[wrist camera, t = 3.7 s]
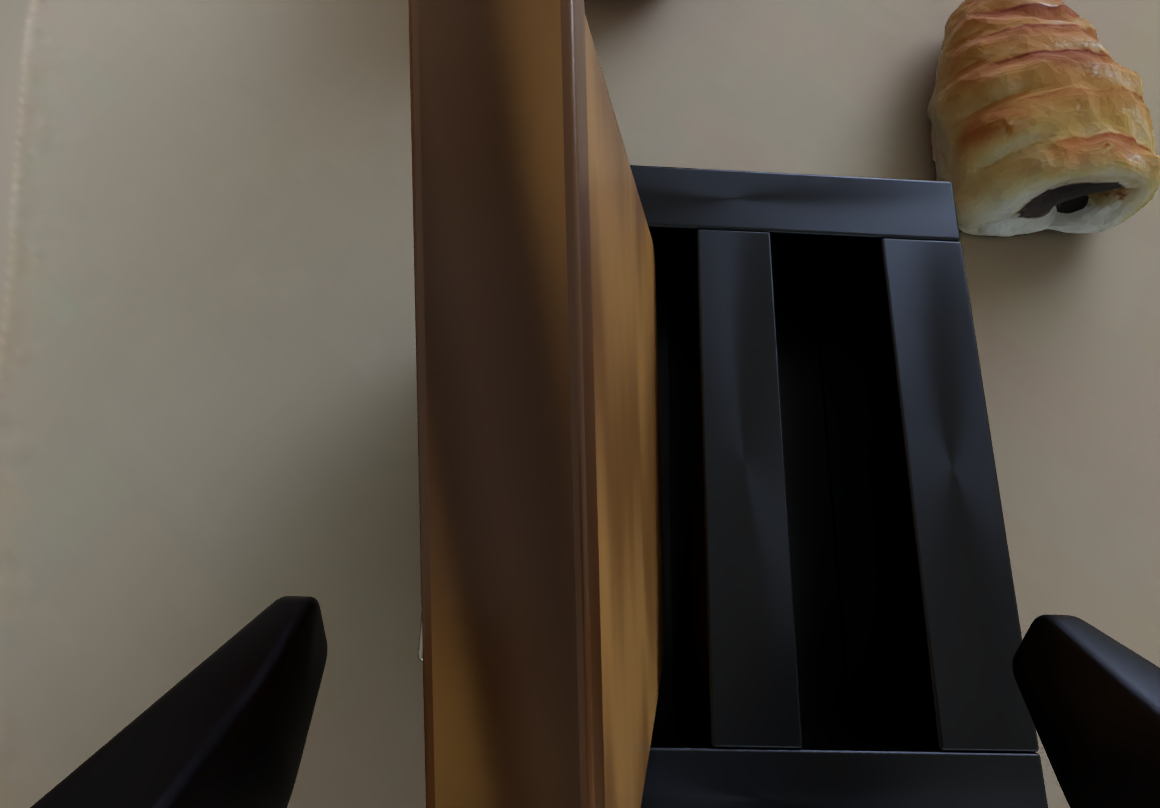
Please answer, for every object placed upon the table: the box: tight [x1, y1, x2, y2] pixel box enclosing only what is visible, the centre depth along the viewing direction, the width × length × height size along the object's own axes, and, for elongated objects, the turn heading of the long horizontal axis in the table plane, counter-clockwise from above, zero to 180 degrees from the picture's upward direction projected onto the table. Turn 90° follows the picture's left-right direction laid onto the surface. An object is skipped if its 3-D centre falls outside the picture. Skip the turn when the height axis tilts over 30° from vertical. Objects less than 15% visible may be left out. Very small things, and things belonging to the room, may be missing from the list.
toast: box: [409, 0, 666, 808], centre depth 10 cm, size 9×1×10 cm, turn 2°
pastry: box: [928, 0, 1160, 237], centre depth 22 cm, size 9×7×4 cm
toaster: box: [418, 165, 1048, 808], centre depth 16 cm, size 13×11×7 cm
